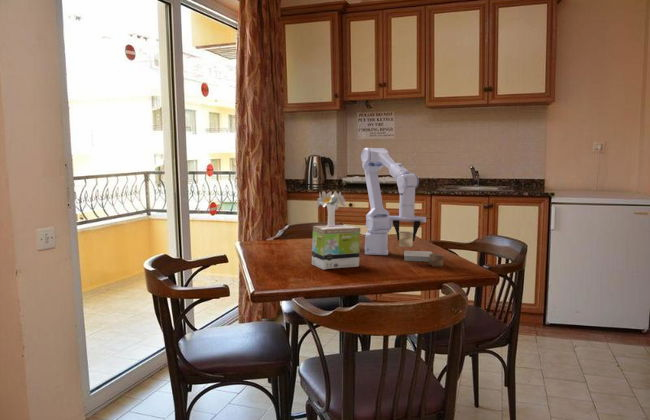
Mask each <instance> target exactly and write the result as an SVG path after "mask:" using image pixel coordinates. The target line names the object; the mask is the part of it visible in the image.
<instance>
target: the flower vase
mask: <svg viewBox="0 0 650 420" xmlns="http://www.w3.org/2000/svg"><path fill="white" fill-rule="evenodd" d="M318 194H319V197H318V198H317V199H316V202H317V205H316V208H315V209H318V207H319V206H322V208H325V207H326V208H327V209H326V210H327V225H336V222H335V221H336V219H335V218H336V217H335V216H336V215H335V214H336V213H335V212H336V210H338V209H339V205H341V206H342V207H344V208H346V205H345V202H346V199H345V197H344V196H343V195H342V192H341V191H339V192H337V191H334V192H333V194H332V191H329V192H327V193H326V192H325V190H324V191H322V192H319V193H318Z"/></svg>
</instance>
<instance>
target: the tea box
mask: <svg viewBox="0 0 650 420" xmlns="http://www.w3.org/2000/svg"><path fill="white" fill-rule="evenodd" d="M311 242H312V243H311V245H312V247H311V248H312V249H311V265H313V266H314V267H317V268H319V269H321V270H328V269H329V270H331V269H341V268H342V269H343V268H344V269H345V268H356V267H359V266H360V254H361V253H360V250H361V248H360V247H361V227H358V226H354V225H350V224H335V225H328V224H327V225H326V224H325V225H313V226H312V241H311Z"/></svg>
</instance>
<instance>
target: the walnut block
mask: <svg viewBox="0 0 650 420" xmlns="http://www.w3.org/2000/svg"><path fill="white" fill-rule="evenodd" d="M428 265H430V266H431V265H432V266H431V267H444V255H443V254H441V253H432V254H430V256H429V262H428Z"/></svg>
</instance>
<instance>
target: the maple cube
mask: <svg viewBox="0 0 650 420" xmlns="http://www.w3.org/2000/svg"><path fill="white" fill-rule="evenodd" d="M413 242H414V241H413V231H404V230H403V231H401V230H399V241H398V247H406V248H408V247H409V248H412V247H413Z"/></svg>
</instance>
